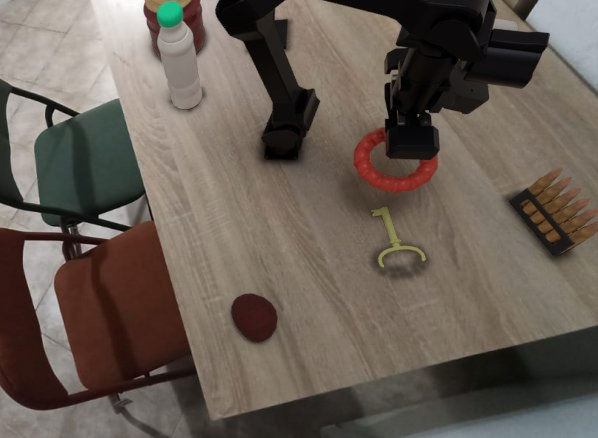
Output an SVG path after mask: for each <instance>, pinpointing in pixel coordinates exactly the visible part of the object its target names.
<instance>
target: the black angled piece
mask: <svg viewBox="0 0 598 438" xmlns="http://www.w3.org/2000/svg"><path fill="white" fill-rule="evenodd" d="M288 21H289V20H288V18H284V19H276V8H275V9H273V23H274V26H275V28H276V31H277V33H278V36H279V38H280V41H281V43H282V46H283V48H284V50H285V49H287V45H288V44H287V43H288V41H287V39H288V24H289V23H288Z"/></svg>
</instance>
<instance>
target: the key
mask: <svg viewBox="0 0 598 438" xmlns="http://www.w3.org/2000/svg"><path fill="white" fill-rule="evenodd" d="M370 213H372V214H371V216H372V217H382V220H383V221H382V222H383V223H384V226H385V227H384V228H385V229H386V232H387V235H388V237H389V238H388V239H389V241H388V244H390V245H391V246H392V247H389V248H387V249H384V250H383V251H381V252H380V253H379V255H378V257H377V261H378V264H379V266H380V267H381V268H385V264H384V263H383V257H384V256H386V255H387V254H390V253H392V252H396V251H413V252H416V253H418V254H419V256H420V257H421V261H422V262H425V261H426V259H427V257H426V255H425V253H424V252H423V250H422V249H420V248H418V247H415V246H411V245H400V244H401V242H402V240H401V239H400V238H398V236H397V232H396V230H395V227H394V224H393V220H392V217H391V215H390V211H389V208H388V207H387V206H383V207H380V208H377V209H372V210H370Z"/></svg>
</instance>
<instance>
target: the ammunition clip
mask: <svg viewBox="0 0 598 438" xmlns="http://www.w3.org/2000/svg"><path fill="white" fill-rule="evenodd" d="M563 171H564V167H562V166H561V167H557V168H554V169H552V170H550V171H549V172H548V173H547V174H544V176H541V177H539V178H538V179H537V180H536V181H535V182H533V183H532V184H531V185H530V186H529V187H526V188H525V189H523V190H521V192H519V193H518V194H517V195H515V196H513V197H512V198H511V199H509V201H508V202H509V203H510V204H511V206H512V207H513V208H514V210H516V212H517V213H518V215H519V216H520V217H521V218H522V219H523V220H524V222H525V223H526V224H527V225H528V227H529V228H530V229H531V230H532V232H533V233H534V234H535V236H536V237H537V238H538V239H539V240H540V241H541V243H542V244H543V245H544V246H545V247H546V249H547V250H548V251H549V253H550V254H551V255H552V256H554V257H557V256H560V255H563V254H566V253H568V252H569V251H571V250H573V249H574V248H576V247H577V246H579V245H581V244H583V243H584V242H585V241H587V240H589V239H590V238H592V237H594V236H595V235H596V234H597V233H598V220H596V221H594V222H592V223H590V224H588V222H590V221H591V220H593V219H594V218H595V217H596V216H597V215H598V207H594V208H591V209H588V210H586V211H584V212H583V213H580V214H578V213H579V212H580V211H582V209H584V208H585V207H587V206H588V205H589V203H590V202H591V199H592V198H591V197H590V196H589V197H583V198H581V199H578V200H576V201H574V202H572V201H573V200H574V199H575V198H576V197H577V196H578V195H579V194H580V193H581V191H582V187H581V186H579V187H578V186H577V187H574V188H571V189H570V190H568V191H566V192H565V193H563V194H561V192H563V191H565V189H566V188H567V187H568V186H569V185H570V184H571V182H572V181H573V177H572V176H568V177H566V178H563V179H561V180H559V181H557V182H556V183H554V184H553V182H554V181H555V180H557V179H558V178H559V176H560V175H561V174H562V172H563ZM552 184H553V185H552ZM560 194H561V195H560ZM570 202H572V203H571V204H570V205H569V203H570ZM577 214H578V215H577ZM586 224H587V225H586Z"/></svg>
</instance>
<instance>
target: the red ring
mask: <svg viewBox="0 0 598 438" xmlns="http://www.w3.org/2000/svg"><path fill="white" fill-rule="evenodd" d="M385 140H386V134H385V126H383V127H378V128H376V129H374V130H372V131H370V132H368V133H367V134H365V135H363V136H362V137H361V139H360V140H359V142H358V143H357V144H356V146H355V147H354V150H353V162H352V164H353V167H354V169H355V170H356V173H357V174H358V176H359V178H360V179H361V180H363V181H364V182H365V183H367V184H368V185H369V186H371V187H372V188H374V189H376V190H380V191H383V192H388V193H391V194H397V193H406V192H413V191H415V190H417V189H419V188H421V187H422V186H424V185H426V184H428V183H429V182H430V181H431V179H432V178H433V176H434V175H435V173H436V172H437V170H438V168H439V156H438V154H439V153H438V154H437V155H436V156H435V157H434V158H433V159H432V160H418V166H417V168H416V169H415V171H413V172H411V173H409V174H408V175H405V176H404V175H403V176H397V177H395V176H391V175H387V174H383V173H382V172H381V171H380V170H378V169H376V168H375V167H374V165H373V163H372V161H371V153H372V152H373V150H374V148H375V147H377V146H378V145H380V144H382V143H385Z"/></svg>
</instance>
